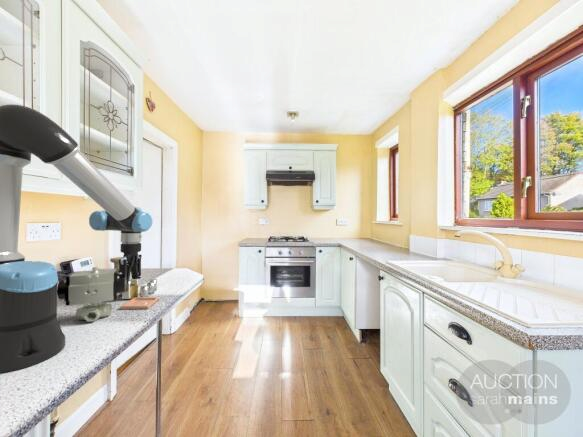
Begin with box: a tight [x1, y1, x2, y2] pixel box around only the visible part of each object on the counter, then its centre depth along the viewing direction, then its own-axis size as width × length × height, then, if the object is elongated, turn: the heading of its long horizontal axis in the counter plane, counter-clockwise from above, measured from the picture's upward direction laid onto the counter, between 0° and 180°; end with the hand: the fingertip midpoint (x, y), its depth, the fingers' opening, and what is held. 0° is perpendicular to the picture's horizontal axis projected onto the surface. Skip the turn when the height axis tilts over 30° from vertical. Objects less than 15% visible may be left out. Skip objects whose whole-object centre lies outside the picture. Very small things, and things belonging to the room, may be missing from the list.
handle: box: [110, 256, 123, 269], centre depth 117 cm, size 5×6×15 cm
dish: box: [119, 296, 160, 310], centre depth 99 cm, size 10×10×1 cm
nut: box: [128, 283, 139, 300], centre depth 107 cm, size 6×6×5 cm
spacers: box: [118, 278, 158, 298], centre depth 111 cm, size 15×15×5 cm
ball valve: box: [57, 266, 127, 323], centre depth 85 cm, size 18×8×18 cm, turn 118°
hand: (130, 296), depth 107 cm, fingers closed on nut, 5 cm apart
